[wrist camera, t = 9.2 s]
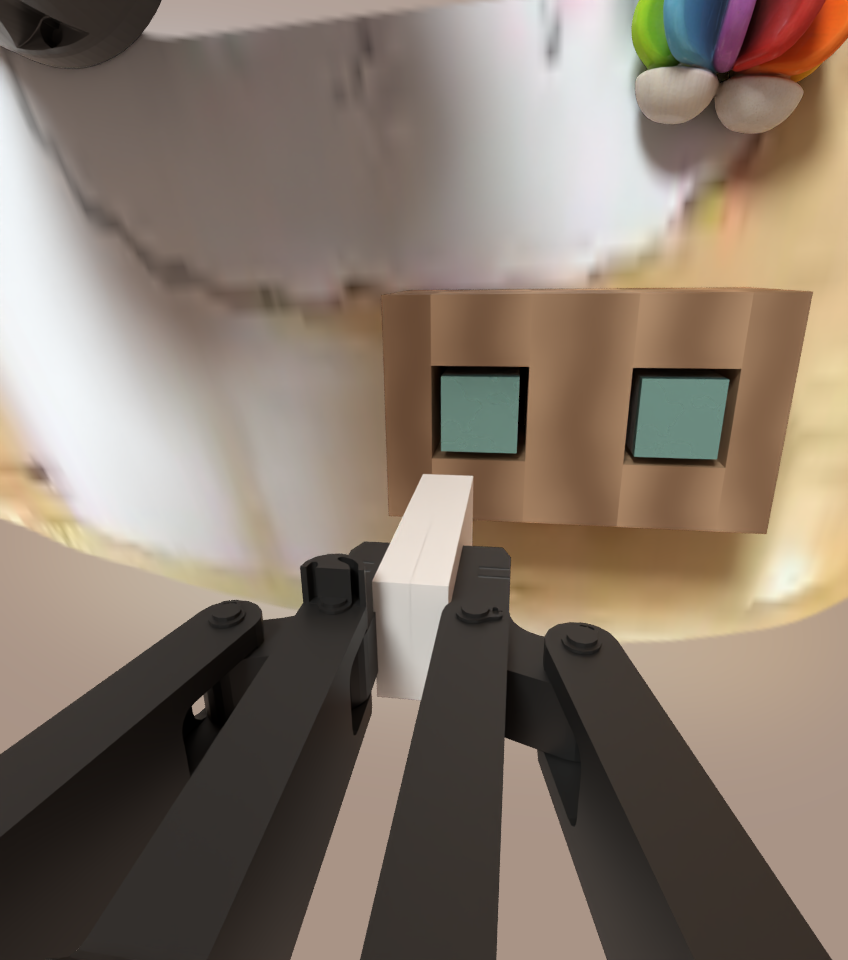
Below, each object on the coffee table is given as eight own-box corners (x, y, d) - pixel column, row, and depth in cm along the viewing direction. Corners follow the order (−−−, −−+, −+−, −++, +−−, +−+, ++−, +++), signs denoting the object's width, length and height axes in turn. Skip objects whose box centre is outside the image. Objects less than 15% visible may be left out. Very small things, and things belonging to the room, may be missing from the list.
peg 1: (456, 417, 39) (441, 451, 32) (456, 355, 38) (440, 376, 31) (517, 418, 39) (516, 453, 31) (519, 356, 38) (519, 377, 30)
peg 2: (611, 420, 38) (634, 456, 30) (617, 356, 37) (642, 378, 29) (677, 421, 37) (716, 459, 30) (686, 357, 36) (729, 379, 29)
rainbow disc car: (787, 145, 32) (859, 111, 25) (606, 122, 33) (628, 84, 26) (848, -50, 29) (948, -146, 22) (648, -69, 30) (685, -168, 23)
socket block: (412, 471, 41) (388, 516, 34) (409, 290, 37) (381, 295, 30) (718, 483, 38) (766, 534, 31) (749, 287, 34) (812, 291, 27)
